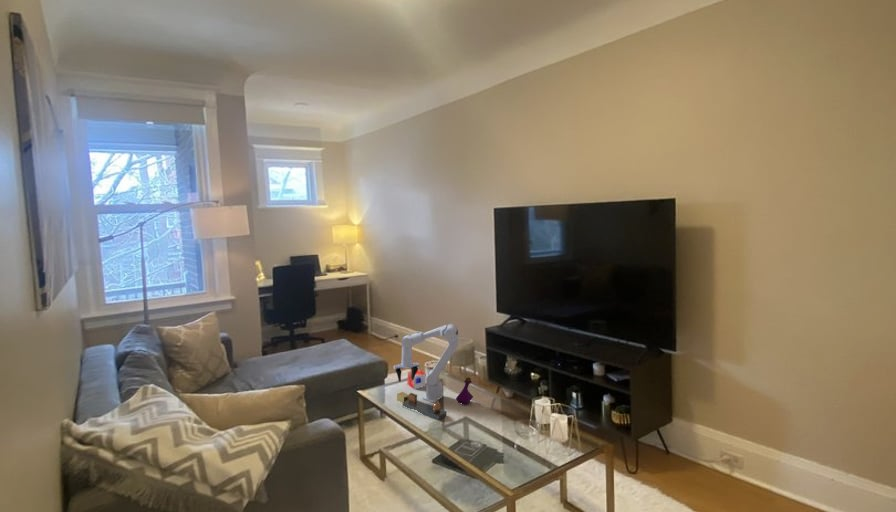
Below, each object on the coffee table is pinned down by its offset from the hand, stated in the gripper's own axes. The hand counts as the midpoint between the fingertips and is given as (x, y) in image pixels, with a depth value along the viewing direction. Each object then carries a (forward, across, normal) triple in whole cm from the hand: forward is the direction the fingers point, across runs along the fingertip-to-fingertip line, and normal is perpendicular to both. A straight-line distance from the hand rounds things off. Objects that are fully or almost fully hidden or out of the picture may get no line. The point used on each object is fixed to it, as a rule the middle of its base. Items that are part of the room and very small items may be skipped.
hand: (406, 380), depth 266 cm
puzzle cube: (+10, +11, +12) cm, 19 cm away
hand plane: (+9, +4, -20) cm, 23 cm away
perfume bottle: (+10, +28, -18) cm, 35 cm away
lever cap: (+10, -3, -6) cm, 12 cm away
